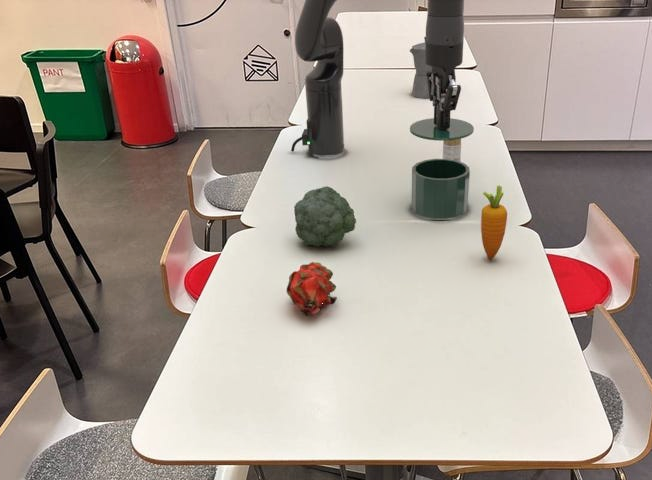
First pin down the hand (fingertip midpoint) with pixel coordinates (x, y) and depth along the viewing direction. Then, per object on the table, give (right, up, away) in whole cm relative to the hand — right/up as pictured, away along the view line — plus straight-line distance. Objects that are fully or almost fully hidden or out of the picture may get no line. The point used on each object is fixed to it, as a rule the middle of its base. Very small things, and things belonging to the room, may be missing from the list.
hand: (441, 126), depth 149 cm
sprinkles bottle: (+4, -4, +27) cm, 28 cm away
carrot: (+9, -30, -9) cm, 32 cm away
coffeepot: (+3, +39, +86) cm, 95 cm away
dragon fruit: (-25, -40, -23) cm, 52 cm away
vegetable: (-25, -24, -1) cm, 35 cm away
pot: (0, -15, +11) cm, 19 cm away
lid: (0, -1, 0) cm, 1 cm away
